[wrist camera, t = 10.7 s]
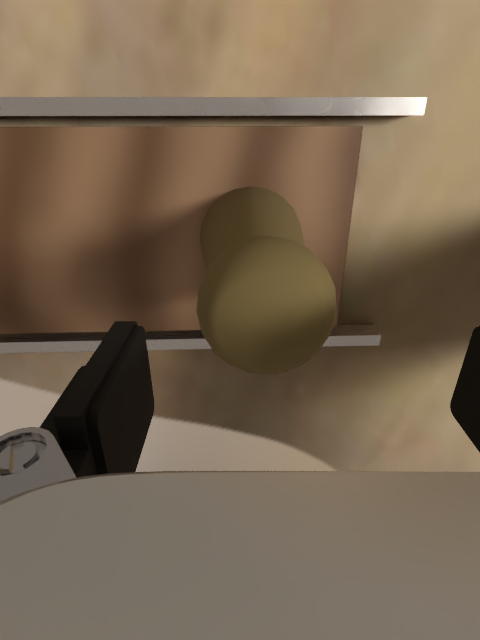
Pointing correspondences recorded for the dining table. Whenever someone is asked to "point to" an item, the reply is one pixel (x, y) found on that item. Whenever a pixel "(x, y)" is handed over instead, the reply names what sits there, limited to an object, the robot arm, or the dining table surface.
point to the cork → (262, 284)
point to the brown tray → (150, 215)
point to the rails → (195, 107)
